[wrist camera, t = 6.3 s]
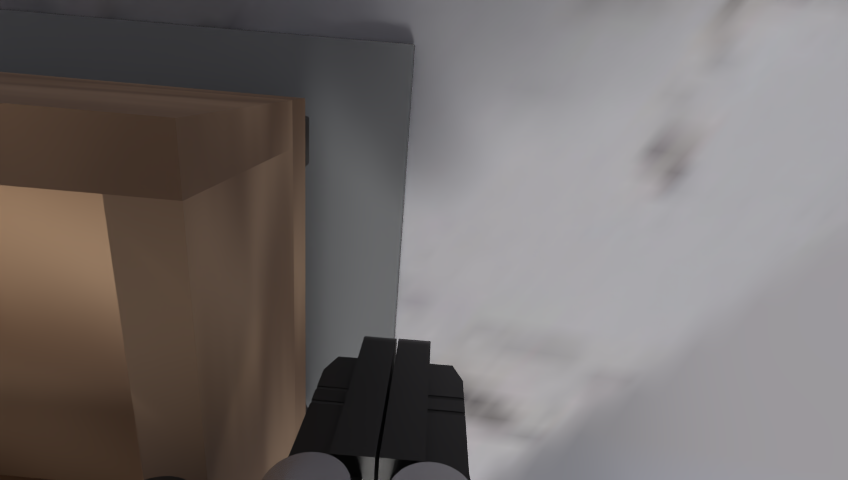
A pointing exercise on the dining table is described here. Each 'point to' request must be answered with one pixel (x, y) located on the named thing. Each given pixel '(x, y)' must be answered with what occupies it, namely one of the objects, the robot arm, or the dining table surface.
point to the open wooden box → (149, 280)
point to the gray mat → (328, 140)
